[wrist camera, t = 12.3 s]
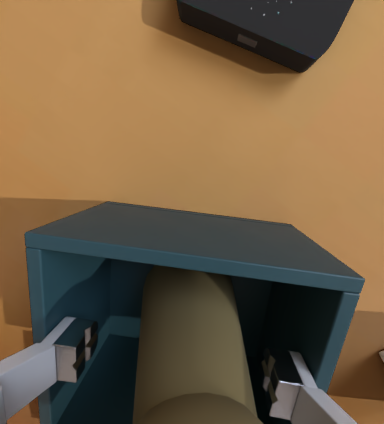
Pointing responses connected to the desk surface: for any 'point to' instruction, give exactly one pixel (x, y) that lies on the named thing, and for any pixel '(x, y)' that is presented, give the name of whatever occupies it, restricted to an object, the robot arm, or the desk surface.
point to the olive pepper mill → (191, 352)
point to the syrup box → (382, 355)
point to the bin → (185, 259)
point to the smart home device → (271, 26)
